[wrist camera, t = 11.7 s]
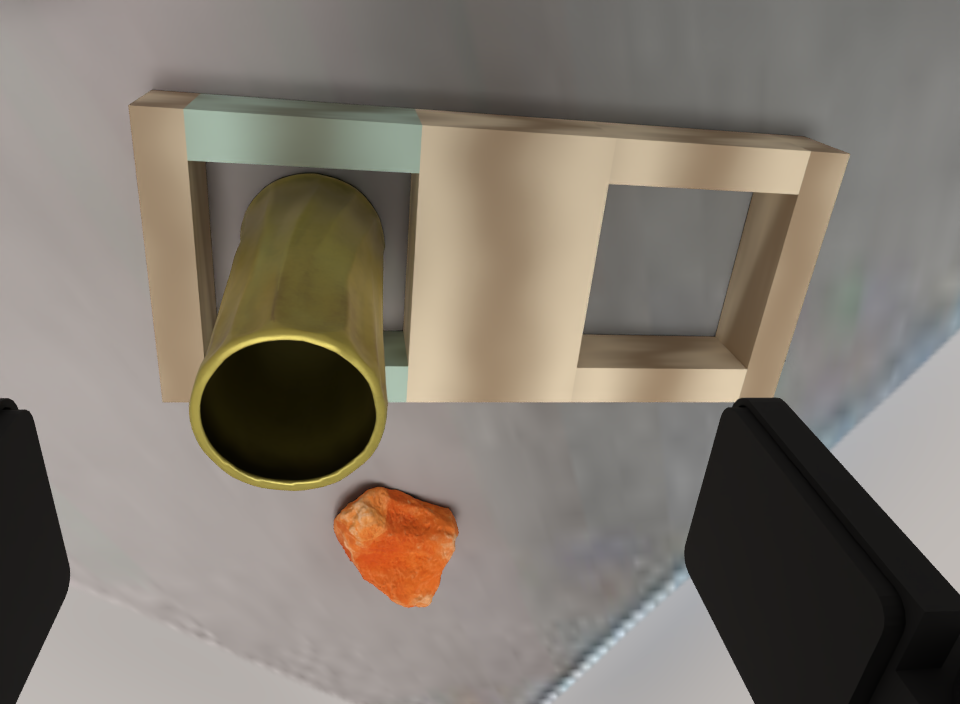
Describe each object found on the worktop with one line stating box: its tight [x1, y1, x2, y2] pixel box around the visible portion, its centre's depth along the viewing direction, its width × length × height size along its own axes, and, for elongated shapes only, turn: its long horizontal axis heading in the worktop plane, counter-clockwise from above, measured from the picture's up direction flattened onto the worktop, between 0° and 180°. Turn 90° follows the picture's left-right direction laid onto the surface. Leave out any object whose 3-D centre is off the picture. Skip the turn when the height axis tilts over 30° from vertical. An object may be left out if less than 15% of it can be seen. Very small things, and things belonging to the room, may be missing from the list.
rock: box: [334, 487, 459, 608], centre depth 39 cm, size 12×12×4 cm
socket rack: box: [128, 90, 850, 402], centre depth 32 cm, size 28×12×4 cm, turn 85°
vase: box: [189, 173, 388, 491], centre depth 26 cm, size 6×6×14 cm
